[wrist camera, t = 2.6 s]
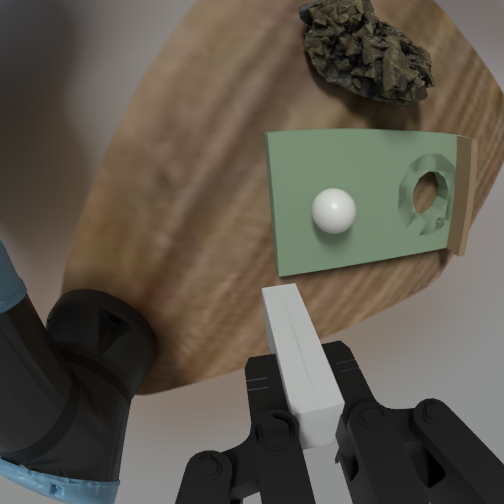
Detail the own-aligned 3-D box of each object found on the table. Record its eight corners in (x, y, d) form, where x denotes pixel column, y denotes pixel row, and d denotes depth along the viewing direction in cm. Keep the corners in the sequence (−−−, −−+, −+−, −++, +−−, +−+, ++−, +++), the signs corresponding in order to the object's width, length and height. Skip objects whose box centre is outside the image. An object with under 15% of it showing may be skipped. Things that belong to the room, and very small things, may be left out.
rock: (403, 131, 26) (454, 69, 19) (386, 137, 19) (458, 48, 12) (316, 62, 28) (357, 2, 21) (268, 49, 21) (321, -32, 14)
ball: (306, 226, 27) (320, 243, 24) (305, 185, 26) (319, 197, 22) (345, 221, 28) (362, 237, 24) (345, 182, 26) (364, 193, 22)
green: (275, 267, 31) (284, 290, 27) (263, 132, 25) (272, 134, 21) (447, 239, 32) (468, 253, 28) (457, 134, 26) (482, 140, 22)
